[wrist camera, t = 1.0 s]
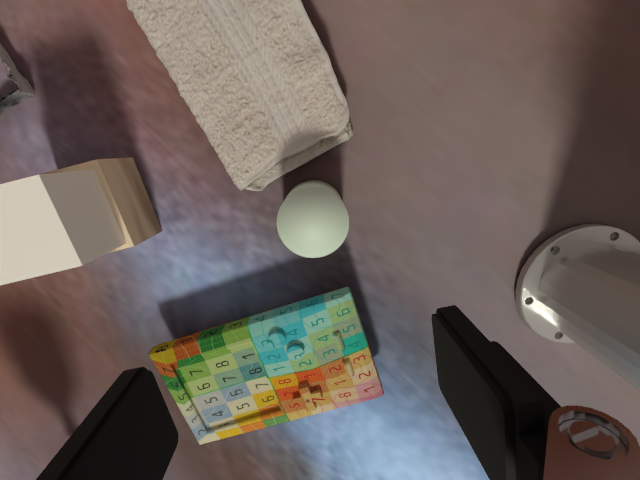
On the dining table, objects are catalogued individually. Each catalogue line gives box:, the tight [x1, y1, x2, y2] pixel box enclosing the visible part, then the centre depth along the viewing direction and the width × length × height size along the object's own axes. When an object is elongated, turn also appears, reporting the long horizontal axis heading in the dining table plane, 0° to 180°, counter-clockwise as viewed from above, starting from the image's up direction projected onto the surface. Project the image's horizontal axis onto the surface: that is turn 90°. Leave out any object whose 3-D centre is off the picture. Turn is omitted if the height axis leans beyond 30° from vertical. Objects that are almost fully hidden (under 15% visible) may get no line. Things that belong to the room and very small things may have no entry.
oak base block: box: [44, 157, 162, 253], centre depth 27 cm, size 7×7×5 cm
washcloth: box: [126, 0, 353, 191], centre depth 26 cm, size 12×18×3 cm, turn 29°
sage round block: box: [277, 180, 349, 258], centre depth 27 cm, size 6×6×6 cm
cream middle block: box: [0, 169, 126, 285], centre depth 22 cm, size 6×6×5 cm
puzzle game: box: [148, 286, 384, 445], centre depth 32 cm, size 12×5×20 cm
